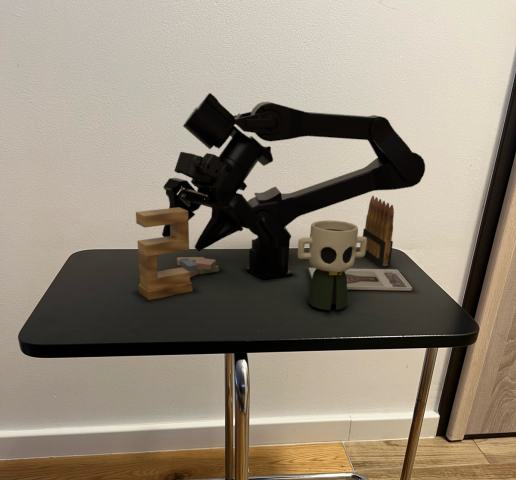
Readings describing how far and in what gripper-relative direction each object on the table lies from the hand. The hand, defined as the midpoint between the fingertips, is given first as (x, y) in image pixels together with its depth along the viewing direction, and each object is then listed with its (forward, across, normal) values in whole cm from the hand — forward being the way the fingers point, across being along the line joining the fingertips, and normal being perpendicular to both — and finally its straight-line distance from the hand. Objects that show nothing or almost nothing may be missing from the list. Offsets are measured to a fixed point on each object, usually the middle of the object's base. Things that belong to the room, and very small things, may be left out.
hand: (179, 242), depth 89 cm
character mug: (-4, +21, +15) cm, 26 cm away
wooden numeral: (+8, 0, +3) cm, 8 cm away
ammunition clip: (-23, +10, +35) cm, 43 cm away
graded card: (-14, +16, +25) cm, 33 cm away
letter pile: (0, -6, +11) cm, 12 cm away
